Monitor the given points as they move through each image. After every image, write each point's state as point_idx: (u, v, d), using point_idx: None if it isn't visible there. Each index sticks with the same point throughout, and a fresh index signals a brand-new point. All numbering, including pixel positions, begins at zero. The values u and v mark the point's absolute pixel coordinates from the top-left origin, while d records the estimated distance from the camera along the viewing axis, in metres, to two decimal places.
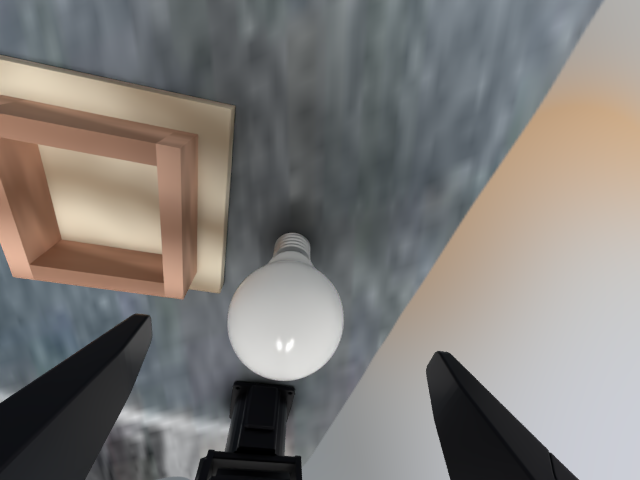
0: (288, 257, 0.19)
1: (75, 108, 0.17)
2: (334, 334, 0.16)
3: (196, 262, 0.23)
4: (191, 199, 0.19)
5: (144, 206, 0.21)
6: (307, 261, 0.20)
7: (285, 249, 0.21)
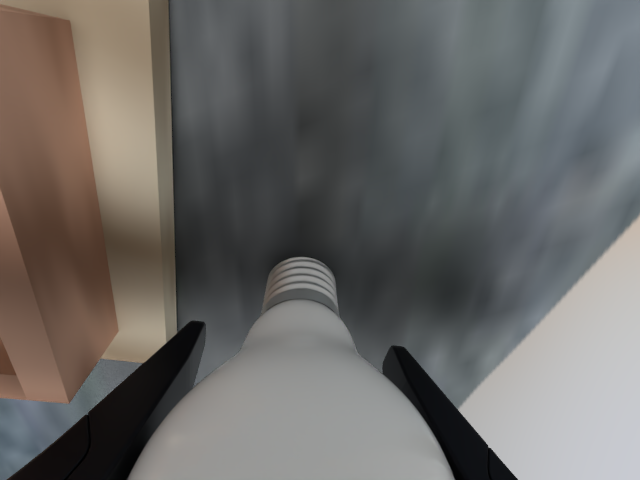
0: (296, 324, 0.08)
1: None
2: None
3: (114, 314, 0.12)
4: (64, 185, 0.08)
5: None
6: (339, 329, 0.09)
7: (288, 296, 0.10)
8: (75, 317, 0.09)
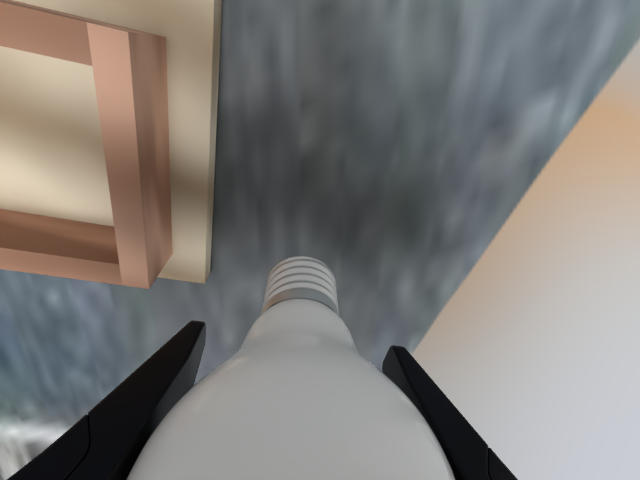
0: (296, 323, 0.08)
1: None
2: None
3: (171, 239, 0.17)
4: (157, 138, 0.13)
5: (93, 154, 0.15)
6: (339, 328, 0.09)
7: (288, 295, 0.10)
8: (155, 229, 0.14)
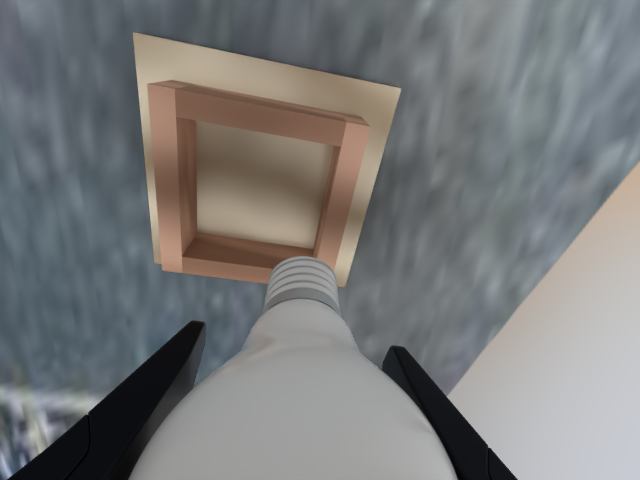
0: (297, 323, 0.08)
1: (243, 92, 0.17)
2: None
3: None
4: None
5: (289, 195, 0.20)
6: (341, 328, 0.09)
7: (289, 295, 0.10)
8: None
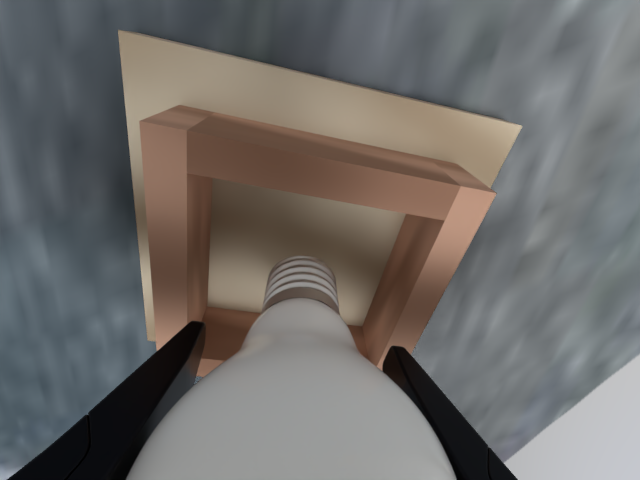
0: (296, 322, 0.08)
1: (286, 125, 0.11)
2: None
3: None
4: None
5: (338, 262, 0.14)
6: (340, 328, 0.08)
7: (288, 295, 0.10)
8: None
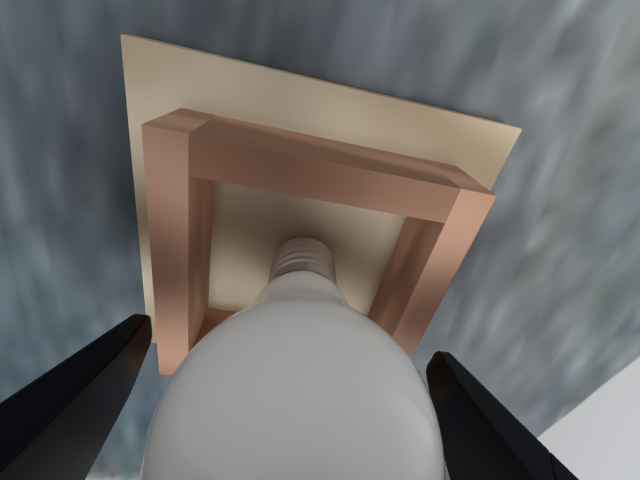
0: (299, 285, 0.09)
1: (287, 128, 0.11)
2: None
3: None
4: None
5: (339, 264, 0.14)
6: (337, 292, 0.10)
7: (291, 268, 0.11)
8: None
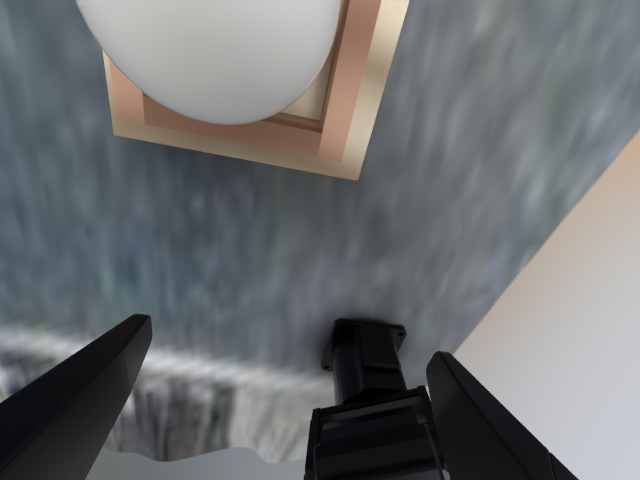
0: None
1: None
2: None
3: None
4: None
5: None
6: None
7: None
8: None
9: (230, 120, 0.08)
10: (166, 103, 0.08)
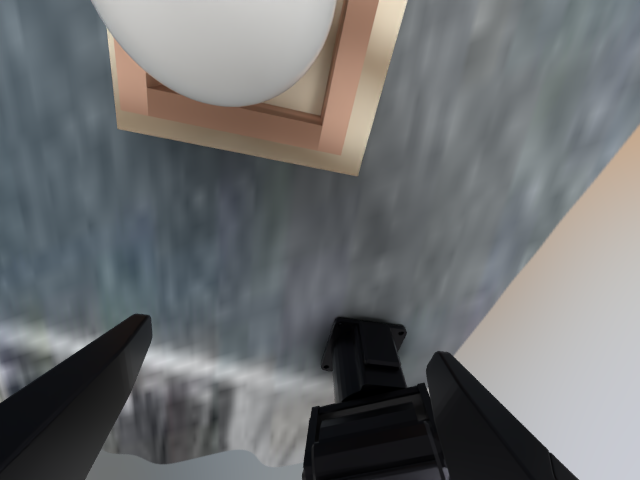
0: None
1: None
2: None
3: None
4: None
5: None
6: None
7: None
8: None
9: (230, 99, 0.08)
10: (167, 81, 0.08)
